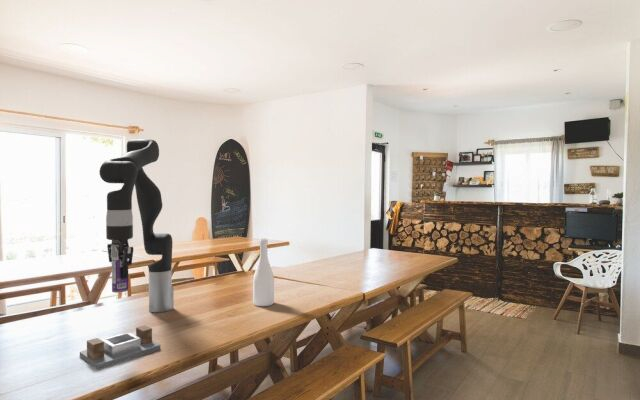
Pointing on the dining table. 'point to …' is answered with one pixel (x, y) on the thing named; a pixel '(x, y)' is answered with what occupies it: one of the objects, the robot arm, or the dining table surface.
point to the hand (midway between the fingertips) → (120, 277)
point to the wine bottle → (263, 279)
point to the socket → (121, 343)
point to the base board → (119, 355)
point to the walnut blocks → (97, 346)
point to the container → (117, 274)
